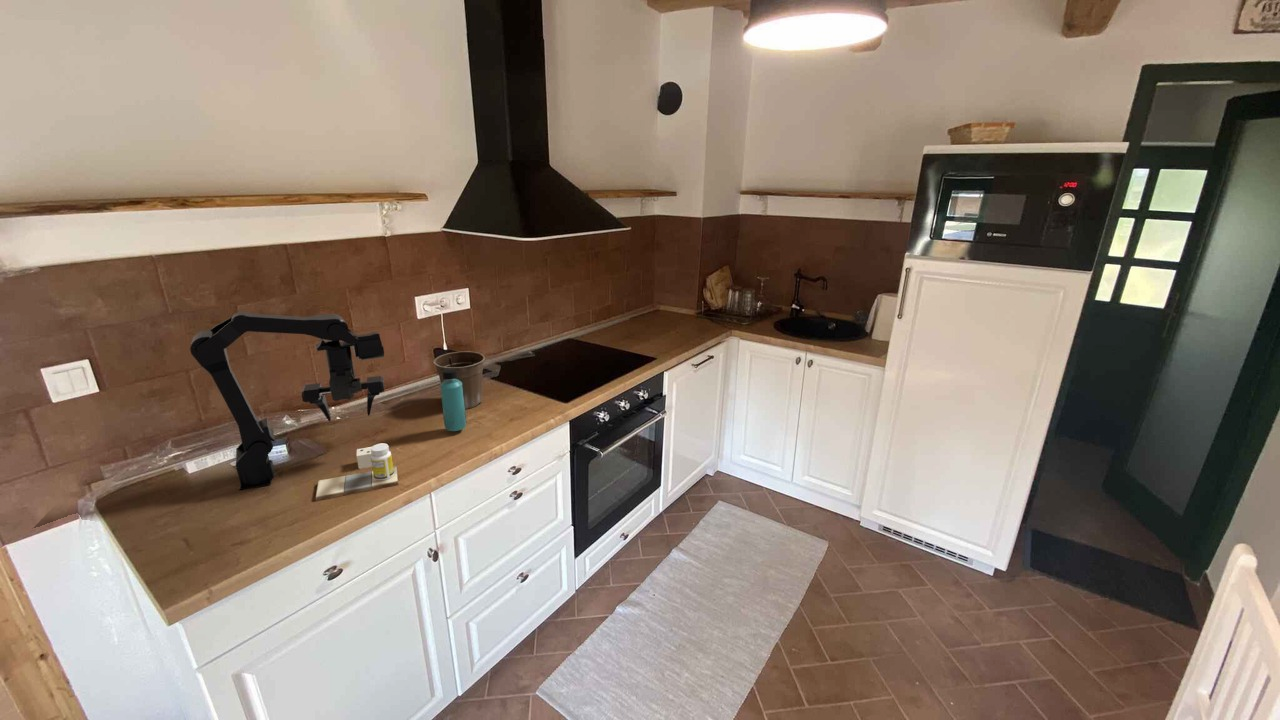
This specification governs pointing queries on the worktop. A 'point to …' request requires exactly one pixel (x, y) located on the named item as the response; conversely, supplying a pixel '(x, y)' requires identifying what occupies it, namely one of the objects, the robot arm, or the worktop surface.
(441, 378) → the plant pot
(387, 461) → the supplement bottle
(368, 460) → the die
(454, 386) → the beverage bottle
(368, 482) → the board
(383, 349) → the robot arm
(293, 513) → the worktop surface
